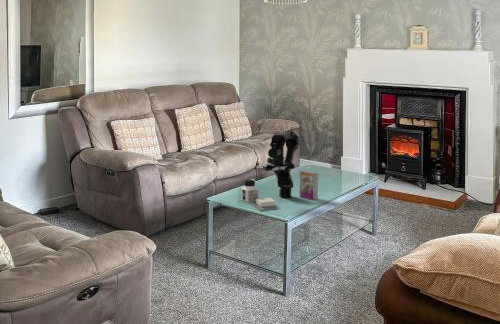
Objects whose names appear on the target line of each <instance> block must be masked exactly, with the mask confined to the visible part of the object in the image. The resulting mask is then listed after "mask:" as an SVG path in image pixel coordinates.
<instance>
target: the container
mask: <svg viewBox="0 0 500 324" xmlns="http://www.w3.org/2000/svg"><path fill="white" fill-rule="evenodd" d="M240 190H241V191H240V193H241V194H240V195H241V197H240V199H241V201H243V202H246V203H249V202H256V199H259V187H256V179H254V178H246V179H244V186H243V187H241V188H240Z"/></svg>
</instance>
